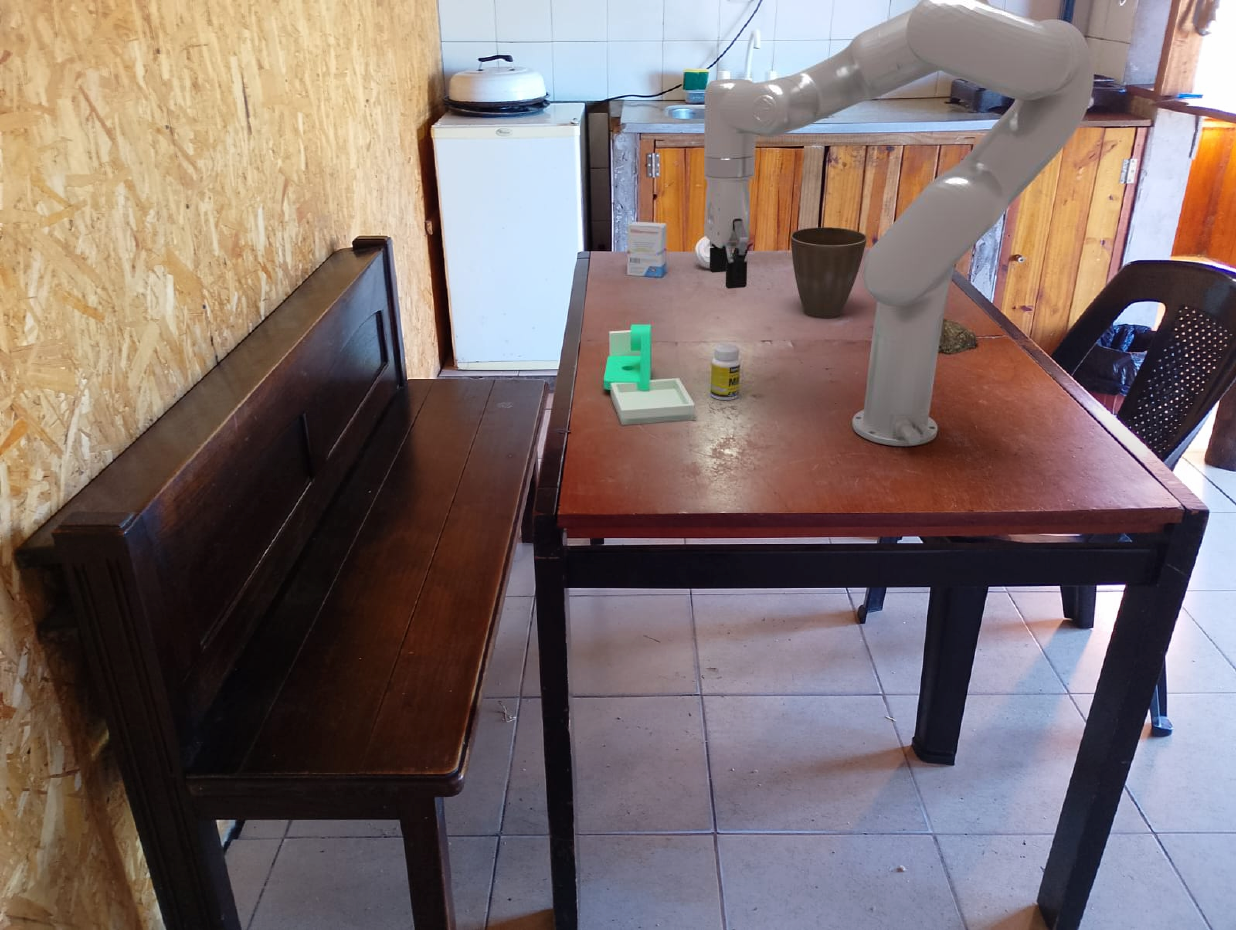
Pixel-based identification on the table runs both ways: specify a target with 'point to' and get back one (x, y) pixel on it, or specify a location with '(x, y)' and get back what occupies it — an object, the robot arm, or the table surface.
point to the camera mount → (632, 361)
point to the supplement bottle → (725, 372)
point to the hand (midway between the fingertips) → (727, 279)
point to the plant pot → (826, 267)
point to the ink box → (646, 249)
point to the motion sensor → (703, 252)
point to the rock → (956, 338)
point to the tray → (652, 402)
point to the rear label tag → (621, 344)
